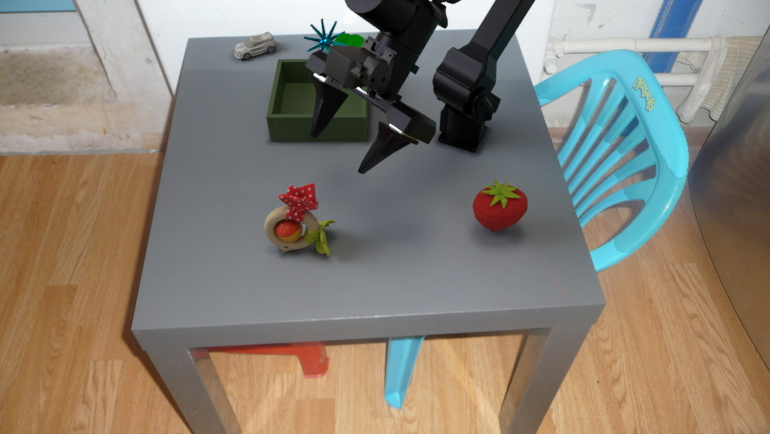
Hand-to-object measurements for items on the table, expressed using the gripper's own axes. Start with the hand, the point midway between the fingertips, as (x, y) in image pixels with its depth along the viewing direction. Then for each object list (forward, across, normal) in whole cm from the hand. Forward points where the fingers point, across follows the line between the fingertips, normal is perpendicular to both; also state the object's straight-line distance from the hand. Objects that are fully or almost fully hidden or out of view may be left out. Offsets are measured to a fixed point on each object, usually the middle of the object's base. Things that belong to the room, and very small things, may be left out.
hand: (335, 154), depth 74 cm
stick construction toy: (-10, -32, +28) cm, 44 cm away
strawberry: (-1, +16, +19) cm, 25 cm away
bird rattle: (+14, 0, +4) cm, 15 cm away
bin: (-1, -21, +19) cm, 28 cm away
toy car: (-2, -43, +21) cm, 48 cm away
